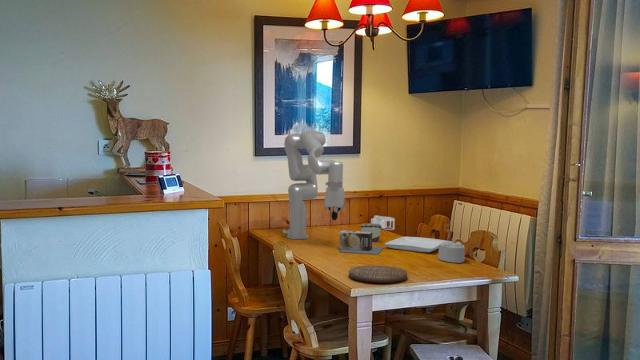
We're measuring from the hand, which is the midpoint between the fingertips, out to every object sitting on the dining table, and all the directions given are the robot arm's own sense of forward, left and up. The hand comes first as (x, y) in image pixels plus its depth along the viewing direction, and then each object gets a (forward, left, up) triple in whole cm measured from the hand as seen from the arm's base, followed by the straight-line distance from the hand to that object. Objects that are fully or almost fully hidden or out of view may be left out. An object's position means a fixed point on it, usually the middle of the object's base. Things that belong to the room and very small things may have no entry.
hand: (334, 219), depth 326 cm
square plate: (+42, +17, -16) cm, 48 cm away
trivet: (+32, -55, -16) cm, 66 cm away
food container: (+15, +27, -15) cm, 34 cm away
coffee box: (+4, -1, -10) cm, 11 cm away
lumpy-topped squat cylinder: (+62, -11, -15) cm, 64 cm away
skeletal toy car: (+14, +79, -16) cm, 82 cm away
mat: (+15, 0, -15) cm, 21 cm away
